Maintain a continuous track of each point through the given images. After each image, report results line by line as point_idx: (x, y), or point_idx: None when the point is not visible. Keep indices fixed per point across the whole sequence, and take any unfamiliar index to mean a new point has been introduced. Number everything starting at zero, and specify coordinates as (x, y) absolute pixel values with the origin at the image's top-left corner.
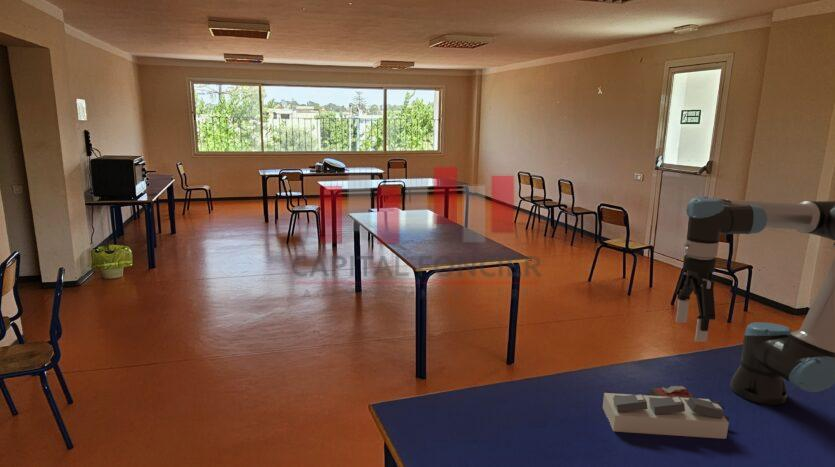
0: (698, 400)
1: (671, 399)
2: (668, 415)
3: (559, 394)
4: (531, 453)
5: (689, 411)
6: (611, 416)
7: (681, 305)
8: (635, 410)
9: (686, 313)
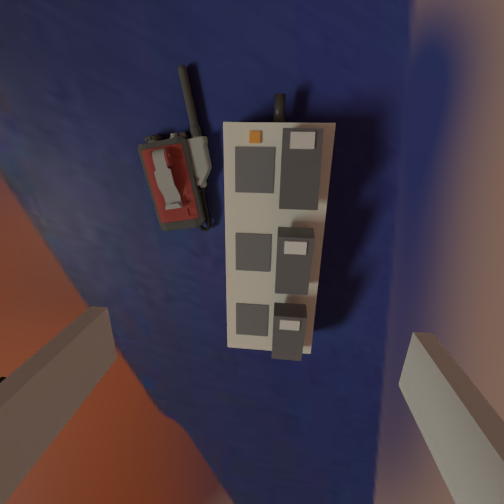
0: (290, 189)
1: (288, 255)
2: None
3: (198, 378)
4: (364, 445)
5: None
6: None
7: (15, 464)
8: None
9: (61, 358)
